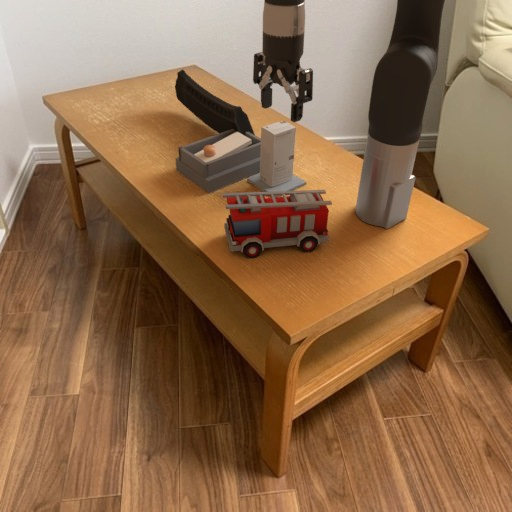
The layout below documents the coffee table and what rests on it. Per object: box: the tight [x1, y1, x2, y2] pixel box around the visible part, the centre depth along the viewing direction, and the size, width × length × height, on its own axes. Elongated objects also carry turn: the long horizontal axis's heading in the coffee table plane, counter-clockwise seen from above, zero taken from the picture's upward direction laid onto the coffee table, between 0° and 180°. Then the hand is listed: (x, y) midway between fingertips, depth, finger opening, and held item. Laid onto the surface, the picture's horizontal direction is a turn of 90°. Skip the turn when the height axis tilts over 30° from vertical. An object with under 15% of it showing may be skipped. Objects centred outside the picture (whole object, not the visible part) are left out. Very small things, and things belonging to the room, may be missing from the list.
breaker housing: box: [174, 129, 261, 194], centre depth 121 cm, size 17×12×6 cm
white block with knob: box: [194, 132, 252, 162], centre depth 119 cm, size 12×5×2 cm, turn 130°
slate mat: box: [246, 173, 307, 197], centre depth 118 cm, size 9×9×1 cm
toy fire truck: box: [221, 189, 333, 259], centre depth 99 cm, size 9×19×10 cm, turn 101°
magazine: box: [174, 69, 256, 136], centre depth 132 cm, size 17×3×30 cm
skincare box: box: [260, 120, 297, 187], centre depth 115 cm, size 6×4×12 cm
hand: (280, 113), depth 109 cm, fingers open, 8 cm apart
